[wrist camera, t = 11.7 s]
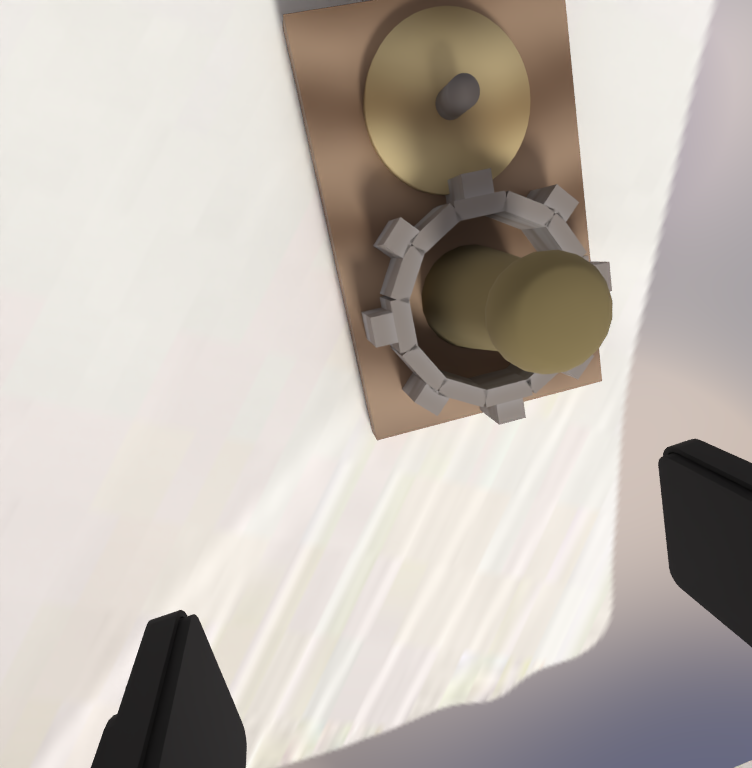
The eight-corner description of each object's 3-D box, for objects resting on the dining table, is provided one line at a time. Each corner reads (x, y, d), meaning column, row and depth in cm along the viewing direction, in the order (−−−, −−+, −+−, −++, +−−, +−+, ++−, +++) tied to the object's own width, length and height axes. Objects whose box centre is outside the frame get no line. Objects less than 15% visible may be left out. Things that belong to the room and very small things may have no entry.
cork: (406, 328, 31) (472, 364, 21) (444, 227, 30) (534, 212, 20) (495, 361, 33) (599, 411, 22) (534, 266, 32) (663, 271, 21)
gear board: (282, 27, 28) (284, -15, 24) (548, -16, 30) (594, -63, 25) (372, 432, 34) (386, 458, 30) (588, 375, 36) (631, 392, 32)
